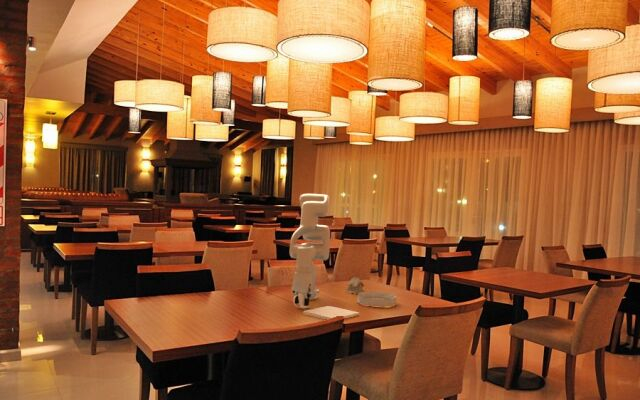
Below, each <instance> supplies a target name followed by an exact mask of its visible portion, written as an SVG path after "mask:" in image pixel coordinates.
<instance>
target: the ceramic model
mask: <svg viewBox="0 0 640 400" xmlns="http://www.w3.org/2000/svg"><path fill="white" fill-rule="evenodd" d="M364 286H365V285H364V282H363V281H362V279H360V278H359V277H357V276H355V277H352V278H351V279H350V280H349V281H348V282H347V288H346V291H347V292H351V293H355V294H358V293H361V292H366V291H365V290H364ZM347 292H346V293H347Z"/></svg>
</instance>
